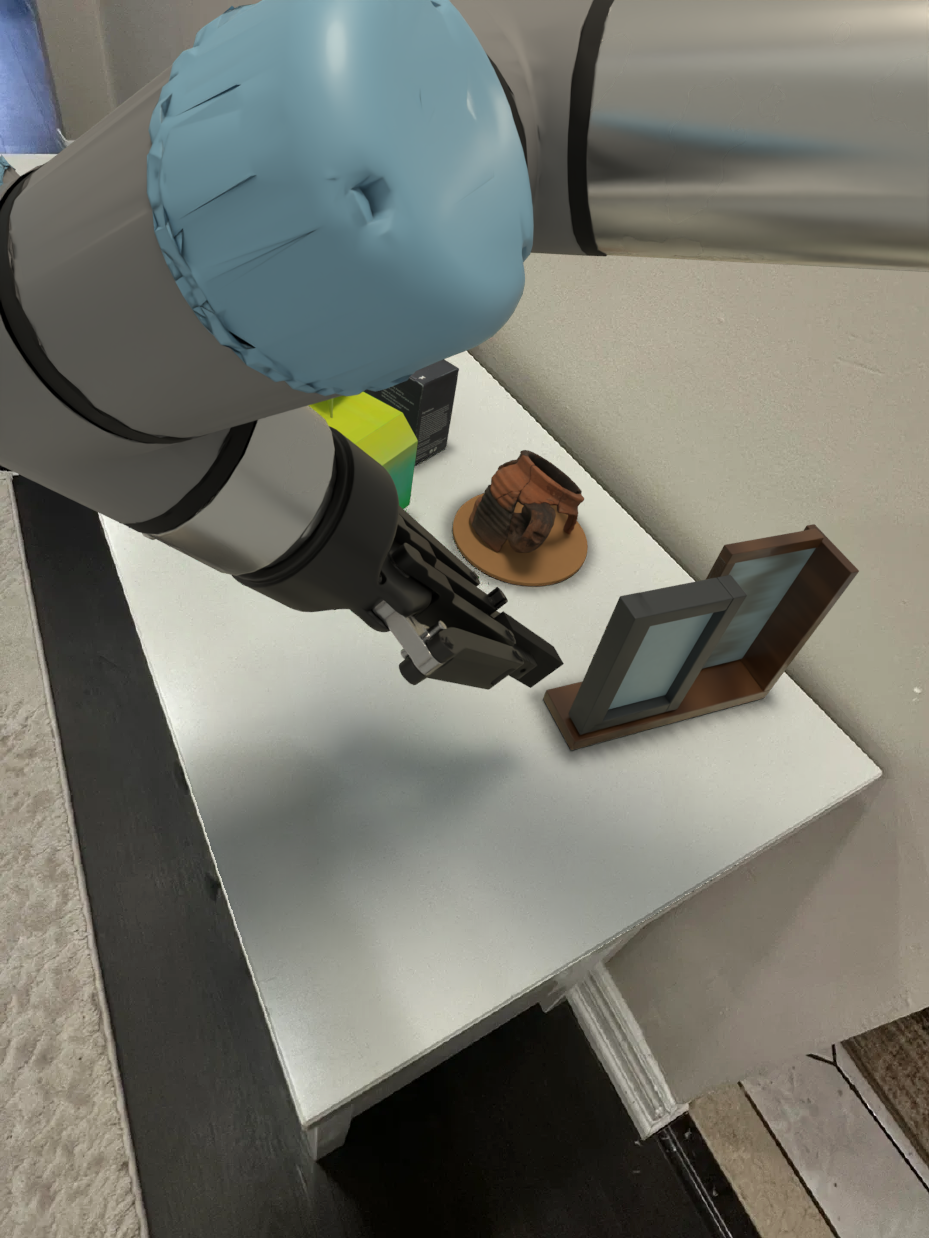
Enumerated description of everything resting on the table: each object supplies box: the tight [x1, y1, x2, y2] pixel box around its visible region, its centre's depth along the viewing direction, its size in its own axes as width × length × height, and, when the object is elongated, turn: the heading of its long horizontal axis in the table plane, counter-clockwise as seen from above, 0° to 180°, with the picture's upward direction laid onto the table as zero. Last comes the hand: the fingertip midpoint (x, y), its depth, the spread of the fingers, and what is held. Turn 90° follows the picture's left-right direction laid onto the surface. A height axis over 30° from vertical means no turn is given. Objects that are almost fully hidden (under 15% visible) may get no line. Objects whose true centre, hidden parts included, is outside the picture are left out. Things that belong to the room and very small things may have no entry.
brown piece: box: [542, 523, 860, 751], centre depth 57 cm, size 19×5×15 cm, turn 111°
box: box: [363, 359, 460, 465], centre depth 77 cm, size 9×6×10 cm, turn 48°
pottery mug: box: [470, 449, 585, 553], centre depth 71 cm, size 12×10×8 cm
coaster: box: [452, 492, 589, 587], centre depth 73 cm, size 13×13×1 cm
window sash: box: [569, 575, 747, 735], centre depth 54 cm, size 9×2×13 cm, turn 111°
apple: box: [308, 392, 418, 510], centre depth 65 cm, size 11×10×15 cm
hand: (542, 667), depth 49 cm, fingers closed
